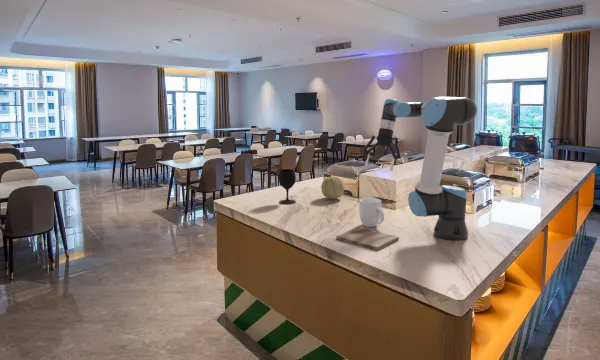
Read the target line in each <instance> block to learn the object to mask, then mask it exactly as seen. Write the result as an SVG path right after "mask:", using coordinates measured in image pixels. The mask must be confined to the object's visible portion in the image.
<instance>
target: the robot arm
mask: <svg viewBox="0 0 600 360" xmlns="http://www.w3.org/2000/svg"><path fill="white" fill-rule="evenodd" d="M381 113H382V114H381V118H380V124H379V129H378V133H377V136H375V135H372V136H371V137H370V140H369V141H368V143H367V144H365V146H364V148H363V149H362V152H363V153H365V155H364V160H365V164H364V166H365V167H368V165H369V158H370V153H371V152H372V151H373V150H374V149H376V148H377V147H378V146H381V147H387V148H388V150H389V153H390V154H391V156H392V157H393V158H391V163H390V168H389V171H391V172H392V171H393V169H394V166H396V163H397V159H401V157H402V156H401V153H400V149H399V145H398V139H393V136H394V129H395V126H396V121H397V118H422V119H421V121H422V124H424V125H425V126H424V127H425V129H426V131H427V137H426V143H425V148H424V149H425V150H424V154H423V161H422V167H421V174H420V179H419V182H418V183H416V185H415V189H414V190H413V191H410V192H409V193H408V196H407V197H408V198H407V201H408V202H407V203H408V207H409V209H410V211H411V213H412V214H413V215H414V216H415V217H430V216H431V217H432V216H433V217H434V216H438V218H437V221H436V223H435V226H434V228H433V235H434V236H435V237H437V238H440V239H444V240H449V241H461V240H462V239H463V240H466V239H467V238H468V236H469V231H468V227H467V225H466V224H467V223H466V211H467V210H466V208H467V200H468V196H467V194H468V193H467V190H466V189H465V188H461V187H458V186H453V185H443V184H442V185H441V180H442V173H443V168H444V164H445V163H444V162H445V158H446V152H447V149H448V148H447V147H448V143H449V137H450V135H451V134H452V133H454V131H455V127H456V126H463V125H466V124H469V123H471V122H472V121H473V120H474V119H475V118H476V116H477V113H478V107H477V105H476V102H475V101H474V100H473V99H471V98H468V97H465V96H460V97H459V96H458V97H457V96H438V97H431V98H429V99H428V100H427V101H422V102H421V101H416V102H414V101H411V102H408V101H407V102H406V101H399V100H397V99H395V98H394V99H392V98H387V99H385V101H384V104H383V108H382V112H381ZM375 140H376V143H375V144H373V145H372V146H371V144H372V143H373V141H375ZM391 144H393V146H394V149H393V147H392V145H391ZM370 146H371V147H370ZM369 147H370V148H369ZM463 240H462V241H463Z"/></svg>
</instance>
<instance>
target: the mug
mask: <svg viewBox="0 0 600 360" xmlns="http://www.w3.org/2000/svg"><path fill="white" fill-rule="evenodd" d="M382 204H383V203H382V200H381V198H380V199H379V198H374V197H363V198H360V199H359V204H358V209H359V213H358V214H359V218H360V222H361V223H362V224H361V225H363V226H364V227H366V228H374V227H377V226H378V225H381V224H383V222H384V220H385V213H384V210H383V209H382Z"/></svg>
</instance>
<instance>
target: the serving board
mask: <svg viewBox="0 0 600 360" xmlns="http://www.w3.org/2000/svg"><path fill="white" fill-rule="evenodd" d="M399 237H400V236H398V235H393V234H388V233H385V232H380V231H376V230H372V229H368V228H365V227H355V228H353V229H350V230H348V231H345V232H343V233H341V234H338V235H336V236H335V240H338V241H340V242H345V243H349V244H351V245H355V246H359V247H363V248H367V249H370V250H373V251H380V250H381V249H383V248H385V247H387V246H390V245H392V244H393V243H396V242H398V241H399V240H400V238H399Z"/></svg>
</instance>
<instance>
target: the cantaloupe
mask: <svg viewBox="0 0 600 360" xmlns="http://www.w3.org/2000/svg"><path fill="white" fill-rule="evenodd" d="M320 186H321V194H322V195H323V196H324V197H325V198H326V199H329V200H337V199H339V198H341V197H342V196H343V195H344V193H345V184H344V182H343V180H342V179H341V178H339V177H338V176H331V175H327V177H326V178H325V179H323V181H322V183H321V185H320Z"/></svg>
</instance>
